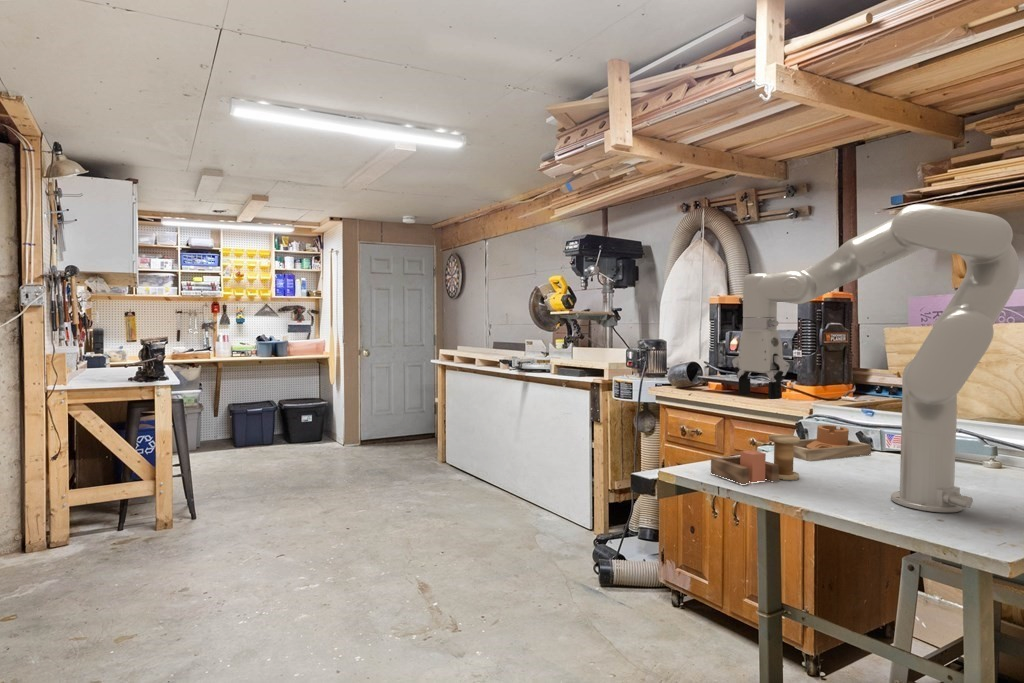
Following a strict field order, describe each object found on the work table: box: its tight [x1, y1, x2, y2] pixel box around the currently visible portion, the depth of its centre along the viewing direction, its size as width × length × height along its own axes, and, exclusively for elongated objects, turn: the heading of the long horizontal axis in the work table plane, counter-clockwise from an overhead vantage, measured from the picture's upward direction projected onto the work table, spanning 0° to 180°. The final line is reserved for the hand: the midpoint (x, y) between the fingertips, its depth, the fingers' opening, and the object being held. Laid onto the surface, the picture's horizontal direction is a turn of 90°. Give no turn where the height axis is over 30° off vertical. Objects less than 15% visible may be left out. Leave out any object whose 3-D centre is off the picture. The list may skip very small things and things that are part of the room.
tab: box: [739, 449, 767, 482], centre depth 147 cm, size 4×4×7 cm
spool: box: [768, 433, 801, 481], centre depth 151 cm, size 7×7×10 cm
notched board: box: [710, 455, 780, 484], centre depth 150 cm, size 11×11×4 cm
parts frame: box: [793, 438, 872, 462], centre depth 179 cm, size 12×23×3 cm, turn 111°
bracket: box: [806, 424, 850, 449], centre depth 180 cm, size 18×8×7 cm, turn 138°
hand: (759, 396), depth 147 cm, fingers open, 9 cm apart
